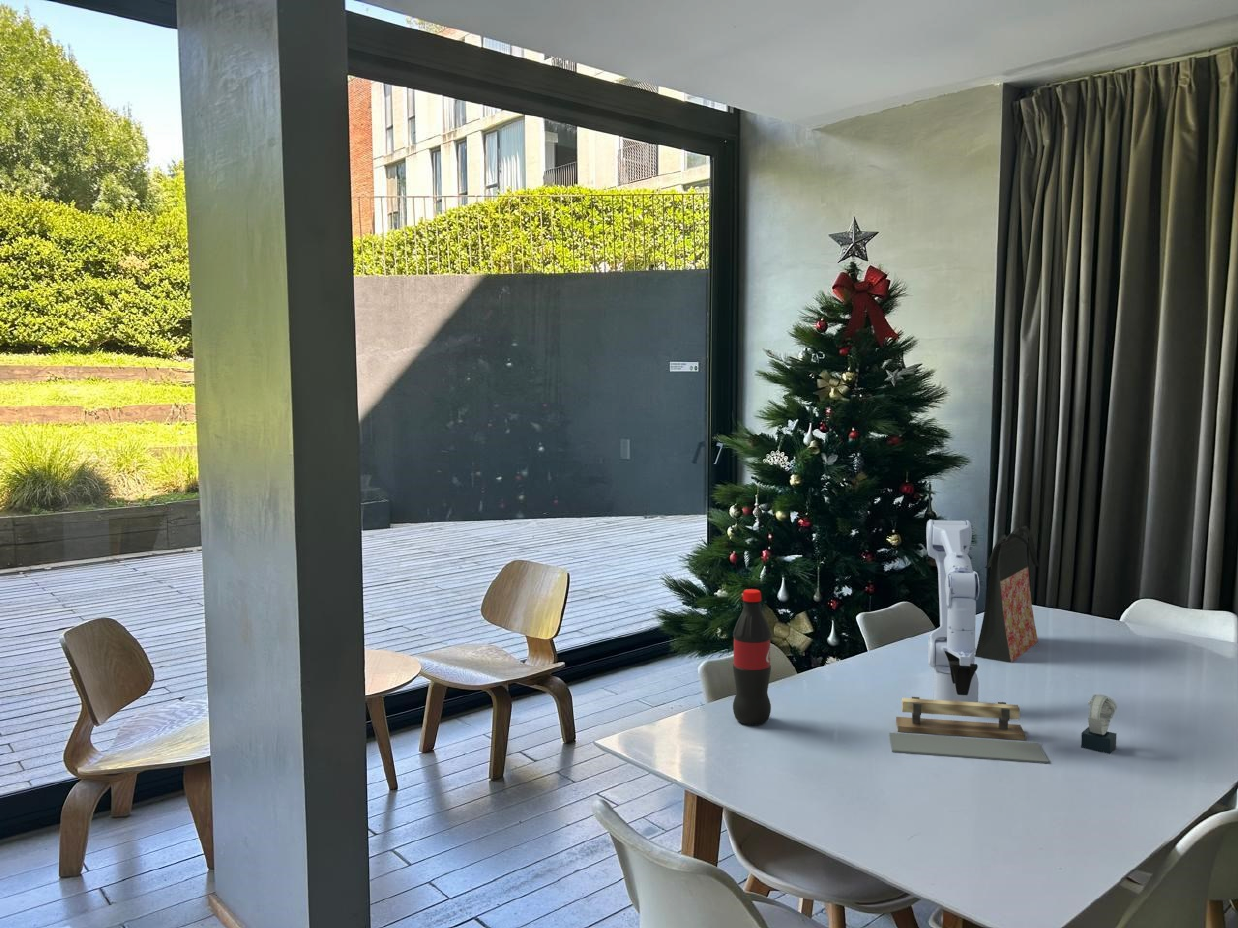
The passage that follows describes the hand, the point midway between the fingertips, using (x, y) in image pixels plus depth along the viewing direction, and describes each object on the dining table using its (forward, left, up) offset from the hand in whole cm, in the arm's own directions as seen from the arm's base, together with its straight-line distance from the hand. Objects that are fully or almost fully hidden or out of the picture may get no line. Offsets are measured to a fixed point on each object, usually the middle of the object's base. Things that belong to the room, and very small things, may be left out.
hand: (959, 688), depth 205 cm
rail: (0, 0, -6) cm, 6 cm away
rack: (0, 0, -9) cm, 9 cm away
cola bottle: (+41, -18, -10) cm, 46 cm away
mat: (+4, +9, -9) cm, 14 cm away
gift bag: (-52, -52, -10) cm, 74 cm away
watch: (-22, +16, -10) cm, 29 cm away
